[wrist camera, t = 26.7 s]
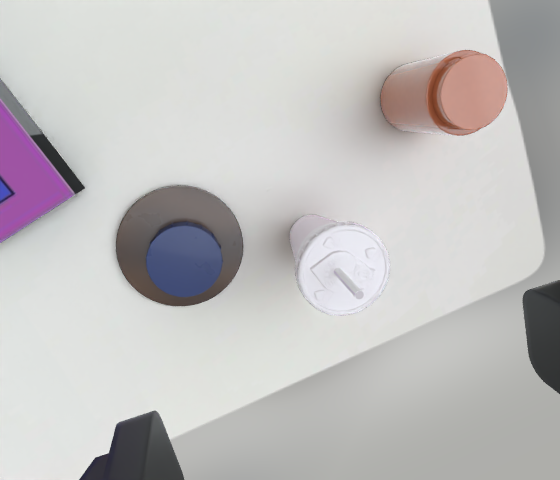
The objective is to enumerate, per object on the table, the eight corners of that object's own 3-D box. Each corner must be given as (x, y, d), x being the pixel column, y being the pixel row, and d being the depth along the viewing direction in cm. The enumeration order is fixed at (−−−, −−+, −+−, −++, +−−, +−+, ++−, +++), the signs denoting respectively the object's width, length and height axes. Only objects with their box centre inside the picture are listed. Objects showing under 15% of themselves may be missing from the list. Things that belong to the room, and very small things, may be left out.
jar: (448, 118, 40) (520, 119, 31) (390, 141, 39) (446, 148, 31) (433, 53, 38) (504, 34, 29) (372, 76, 38) (425, 64, 29)
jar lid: (132, 263, 38) (129, 269, 36) (177, 206, 37) (177, 210, 36) (192, 304, 39) (192, 311, 38) (236, 250, 39) (237, 255, 37)
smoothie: (280, 194, 39) (324, 235, 26) (353, 203, 40) (432, 247, 27) (268, 268, 40) (305, 343, 27) (339, 274, 42) (408, 350, 28)
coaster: (255, 284, 41) (256, 286, 40) (140, 318, 40) (140, 321, 39) (223, 170, 38) (224, 171, 37) (98, 205, 37) (97, 206, 36)
